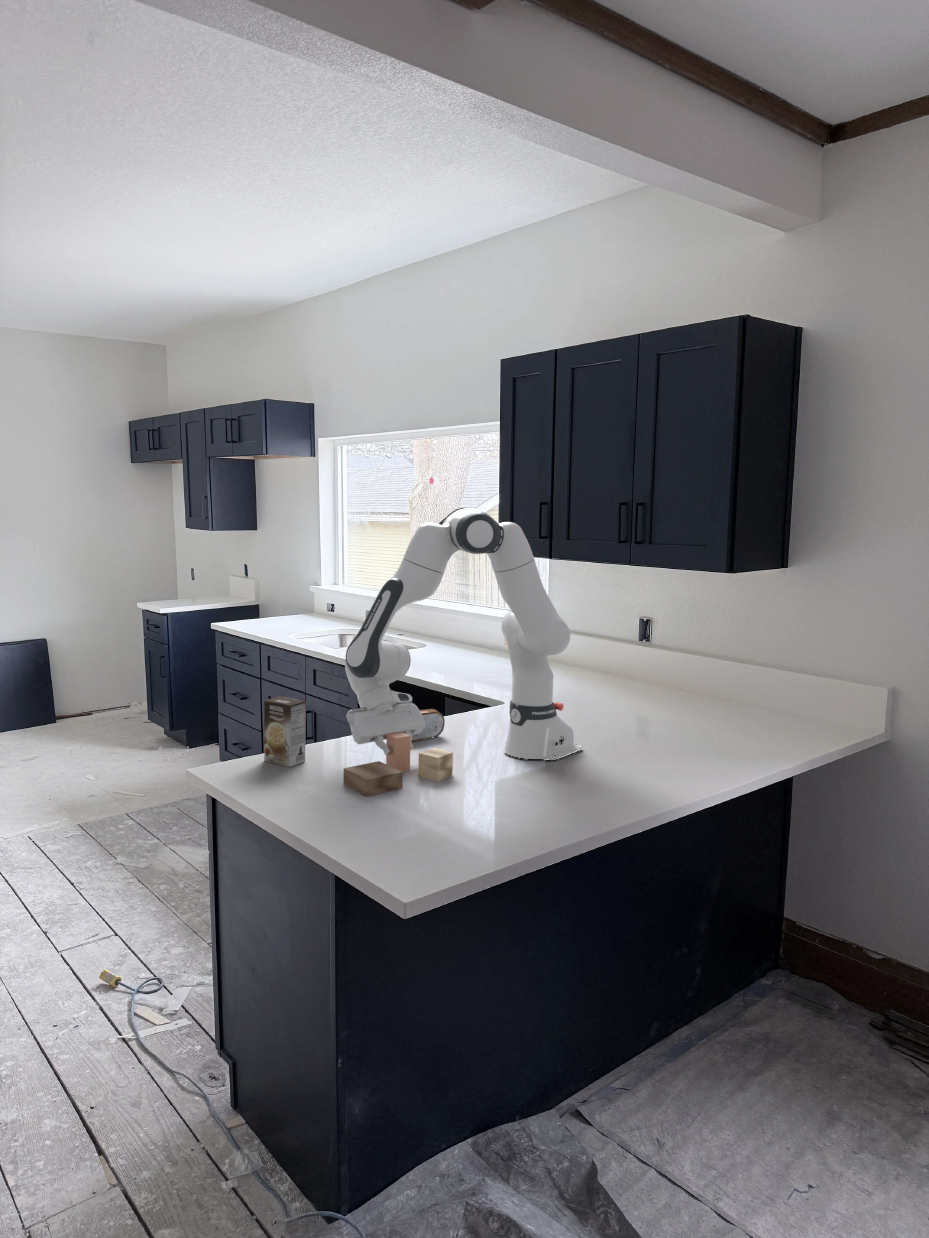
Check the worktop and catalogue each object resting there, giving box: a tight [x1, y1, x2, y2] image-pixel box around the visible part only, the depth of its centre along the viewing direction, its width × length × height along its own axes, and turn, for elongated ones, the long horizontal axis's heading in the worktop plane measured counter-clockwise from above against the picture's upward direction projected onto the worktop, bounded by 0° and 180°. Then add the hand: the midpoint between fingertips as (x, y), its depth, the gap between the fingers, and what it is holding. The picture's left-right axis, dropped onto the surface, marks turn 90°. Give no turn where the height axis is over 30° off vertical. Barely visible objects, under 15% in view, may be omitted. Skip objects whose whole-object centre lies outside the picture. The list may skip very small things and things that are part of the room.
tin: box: [411, 708, 446, 743], centre depth 241 cm, size 15×3×8 cm, turn 125°
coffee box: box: [263, 695, 307, 768], centre depth 217 cm, size 9×6×16 cm
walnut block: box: [343, 760, 404, 797], centre depth 200 cm, size 10×10×4 cm
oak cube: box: [417, 747, 454, 782], centre depth 209 cm, size 6×6×6 cm
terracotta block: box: [385, 732, 411, 772], centre depth 213 cm, size 4×4×9 cm
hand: (399, 751), depth 212 cm, fingers open, 5 cm apart
